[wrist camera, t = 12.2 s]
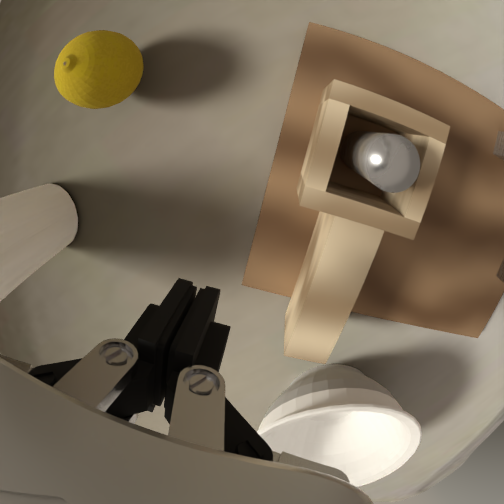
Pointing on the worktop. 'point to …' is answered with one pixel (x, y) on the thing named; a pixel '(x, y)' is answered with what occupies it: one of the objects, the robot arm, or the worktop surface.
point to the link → (351, 215)
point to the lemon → (98, 69)
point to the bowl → (342, 423)
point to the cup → (33, 231)
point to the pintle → (382, 159)
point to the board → (391, 245)
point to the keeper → (502, 151)
